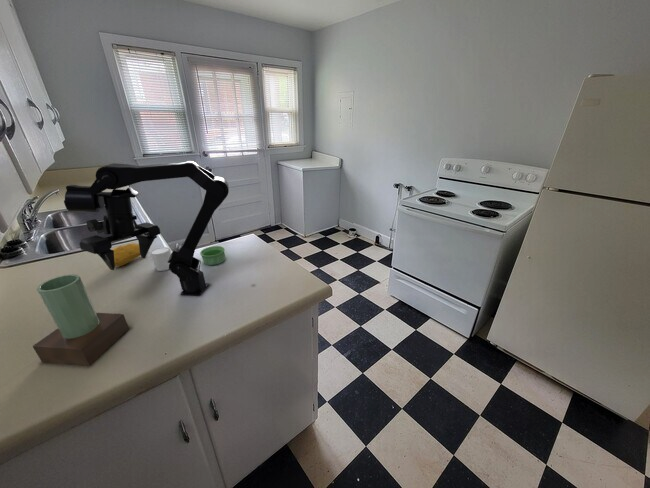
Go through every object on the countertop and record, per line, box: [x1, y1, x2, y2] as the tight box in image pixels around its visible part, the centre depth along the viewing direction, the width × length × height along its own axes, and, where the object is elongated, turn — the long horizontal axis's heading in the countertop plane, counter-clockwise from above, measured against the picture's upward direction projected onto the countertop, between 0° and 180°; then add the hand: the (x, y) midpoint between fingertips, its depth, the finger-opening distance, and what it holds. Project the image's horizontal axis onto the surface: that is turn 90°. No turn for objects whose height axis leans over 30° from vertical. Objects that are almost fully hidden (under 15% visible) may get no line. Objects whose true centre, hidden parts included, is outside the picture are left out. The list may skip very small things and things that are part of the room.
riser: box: [32, 312, 130, 366], centre depth 66 cm, size 12×12×5 cm
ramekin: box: [199, 245, 226, 266], centre depth 106 cm, size 9×9×4 cm
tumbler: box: [36, 273, 99, 339], centre depth 62 cm, size 7×7×13 cm
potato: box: [111, 242, 141, 267], centre depth 105 cm, size 8×14×7 cm, turn 158°
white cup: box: [148, 246, 172, 272], centre depth 101 cm, size 7×7×7 cm
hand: (128, 263), depth 79 cm, fingers open, 9 cm apart
